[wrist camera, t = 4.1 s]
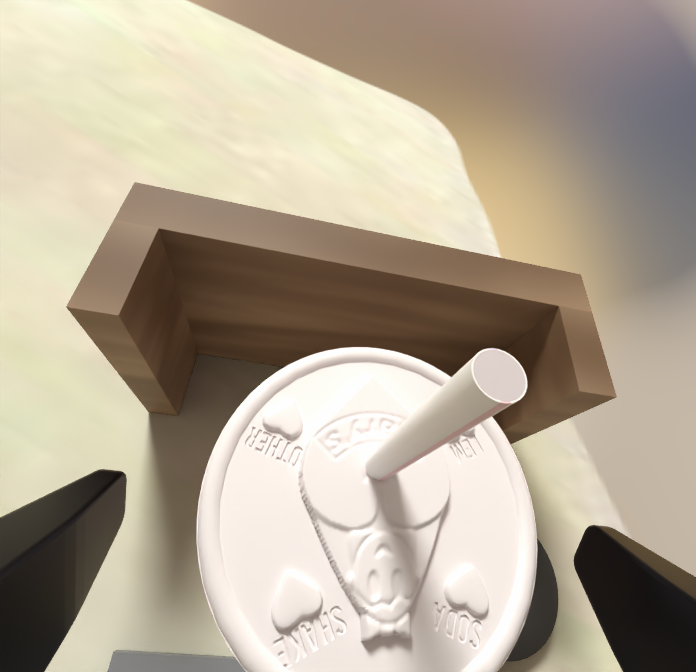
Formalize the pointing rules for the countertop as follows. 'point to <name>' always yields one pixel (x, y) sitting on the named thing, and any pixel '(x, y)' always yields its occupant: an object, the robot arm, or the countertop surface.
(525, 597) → the smoothie
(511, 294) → the cubby
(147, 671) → the mat
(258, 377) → the countertop surface
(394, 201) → the countertop surface
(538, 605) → the dark grey disc
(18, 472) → the countertop surface
